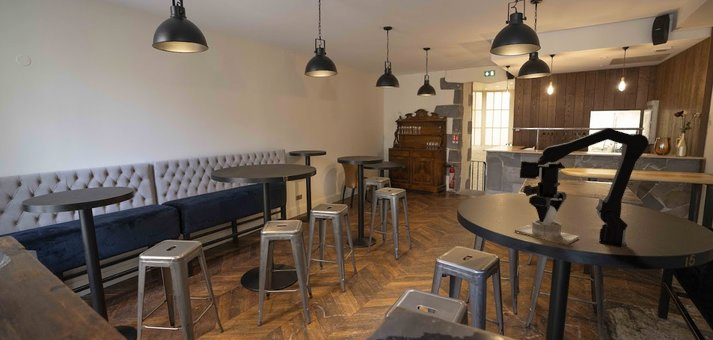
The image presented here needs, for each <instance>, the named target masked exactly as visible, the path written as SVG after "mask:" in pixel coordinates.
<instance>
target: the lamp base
mask: <svg viewBox="0 0 713 340" xmlns="http://www.w3.org/2000/svg"><path fill="white" fill-rule="evenodd" d="M516 232H519V233H518V234H520V233H523V234H522V235H524V234H527V235H526V236H528V235H530V236H529V237H532V236H533V237H532V238H536V237H537V239H540V238H541V240H544V239H545V241H549V242H553V241H554V243H557V242H558V243H557V244H562V245H566V246H567V245H570V244H572V243H574V242H575V241H577V240H579V239H580V236H579V235H576V234H572V233H567V232H562V224H561V222H559V221H555V220H553V221H552V224H551V226H549V225H542V222H540V220H539V219H534V220H532V224H527V225H524V226H521V227H519V228H516V229H514V233H516Z"/></svg>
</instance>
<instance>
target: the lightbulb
mask: <svg viewBox="0 0 713 340" xmlns="http://www.w3.org/2000/svg"><path fill="white" fill-rule="evenodd" d="M557 214H558V212H556V210H555V208H554V207H553V206H551V205H550V208H549V210H548V213H547V215H546V217H545V219H544V221H543V222H542V225H549V226H551V224H552V221H555V219H556V217H557Z"/></svg>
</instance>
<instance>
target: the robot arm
mask: <svg viewBox="0 0 713 340" xmlns="http://www.w3.org/2000/svg"><path fill="white" fill-rule="evenodd" d="M607 140H608V141H611V142H614V143H618V144H620V145H621V151H620V152H621V154H620V155H621V156H620V161H619V163H618V167H617V169H616V172H615V175H614V176H613V180H612V183H611V185H610V188H609V190H608V194H607V195H606V196H605V198H604V199H603V198H598V204H597V205H596V207H595V209H596V214H597V216H598V217H599V219H600V220H601V221H602V222H603V224H602V226H601V228H600V230H599V237H598V238H599V242H598V243H601V244H605V245H610V246H612V247H613V246H615V247H619V248H622V247H623V246H625V245H626V244H627V241H625V240H626V232H627V228H628V224H627V223H626V222H625V220H623V219H622V218H621V215H622V199H623V198H624V194H625V191H626V189H627V187H628V184H629V181H630V179H631V175H632V174H633V171H634V169H635V166H636V163H637V161H638V160H639V159H640V158H641V157H642V156H643V154H644V153H645V151H646V149H647V148H648V146H649V145H650V144H649V143H650V142H649V139H648V137H647V136H646V135H644V134H641V133H640V134H639V133H630V134H629V133H628V132H623V131H619V130H615V129H614V128H611V127H605V128H602V129H600V130H598V131H595V132H593V133H590V134H588V135H585V136H582V137H580V138H577V139H574V140H571V141H569V142H565V143H560V144H559V143H558V144H554V145H550V146H547V147H545V148H544V149H543V151H541V152H542V153H541V156H539V158H538V159H537V160H536V161H527V160H521V161H520V162H521V163H520V168H519V179H530V180H536V179H537V178H538V177H540V181H538V182H537V185H535V186H532V185H530V184H528V185H524V186H523V187H524V188H523V190H522V192H523V193H524V195H526V197H529V196H530V197H529V198H528V203H529V204H530V205H531V206H533V207H534V208H535V210H536V213H537V216H538V220H540V222H543V221H544V219H545V217H546V215H547V213H548V210H549V208H550V205H551V206H553V207H554V208H555V210H556V212H557V213H558V212H559V211H560V208H561V207H562V205H563V204H564V203H565V200H567V195H568V194H567V193H566V192H565V191H558V190H559V187H558V186H560V185H561V182H559V171H560V169H561V170H562V169H564V170H565V168H566V167H565V166H564V164H562V162H561V161H560V160H561V159H564V158H565V157H566V156H569V155H570V154H572V153H574V152H577V151H580V150H582V149H585V148H587V147H590V146H593V145H597V144H599V143H601V142H604V141H607ZM558 161H559V162H558ZM555 162H558V163H555ZM546 164H548V165H546ZM540 171H541V172H540ZM540 173H541V174H540Z"/></svg>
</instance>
